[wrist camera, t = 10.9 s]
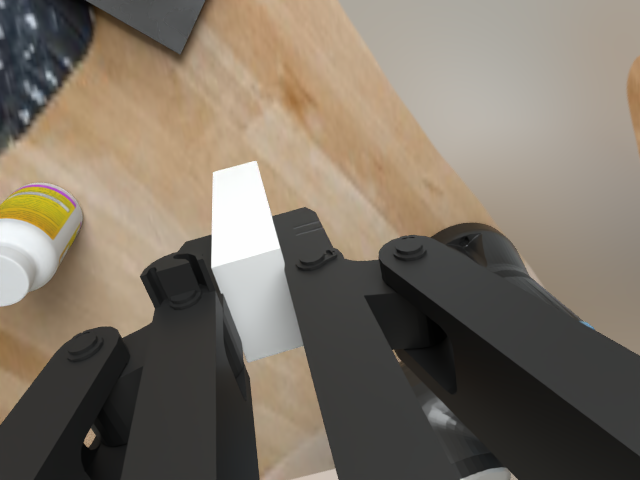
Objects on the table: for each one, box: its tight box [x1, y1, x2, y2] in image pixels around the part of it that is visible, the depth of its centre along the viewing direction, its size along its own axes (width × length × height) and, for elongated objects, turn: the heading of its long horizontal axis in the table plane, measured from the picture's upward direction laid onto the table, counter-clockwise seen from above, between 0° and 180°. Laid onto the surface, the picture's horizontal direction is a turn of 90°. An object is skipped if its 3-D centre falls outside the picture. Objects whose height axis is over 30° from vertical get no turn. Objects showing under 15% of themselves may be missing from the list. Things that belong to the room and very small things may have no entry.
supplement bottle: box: [0, 183, 83, 306], centre depth 39 cm, size 7×7×13 cm
